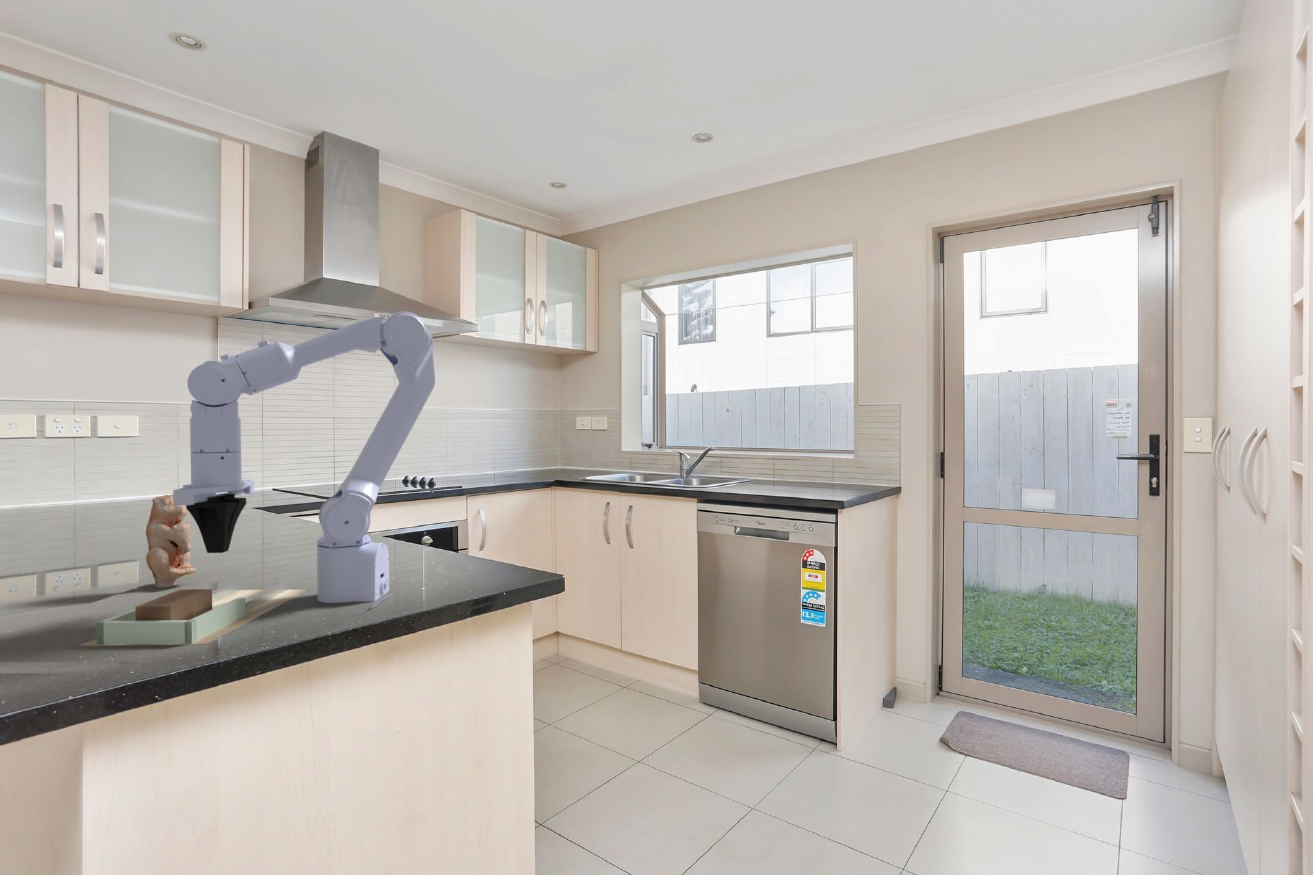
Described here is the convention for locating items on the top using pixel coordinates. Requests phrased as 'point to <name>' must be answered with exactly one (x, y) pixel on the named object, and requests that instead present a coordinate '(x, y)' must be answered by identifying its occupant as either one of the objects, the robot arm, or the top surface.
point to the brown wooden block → (195, 599)
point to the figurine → (168, 542)
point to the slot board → (248, 617)
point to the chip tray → (167, 626)
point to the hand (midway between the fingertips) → (217, 552)
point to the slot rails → (252, 600)
